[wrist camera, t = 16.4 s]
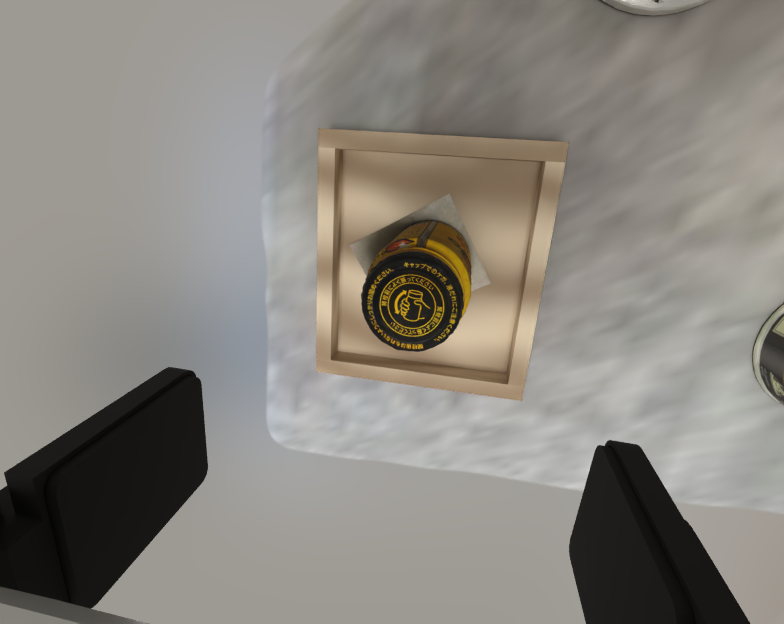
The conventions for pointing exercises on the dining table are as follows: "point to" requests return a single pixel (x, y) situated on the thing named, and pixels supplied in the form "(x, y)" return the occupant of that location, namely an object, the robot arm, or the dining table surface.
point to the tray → (486, 230)
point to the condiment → (419, 277)
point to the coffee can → (771, 356)
